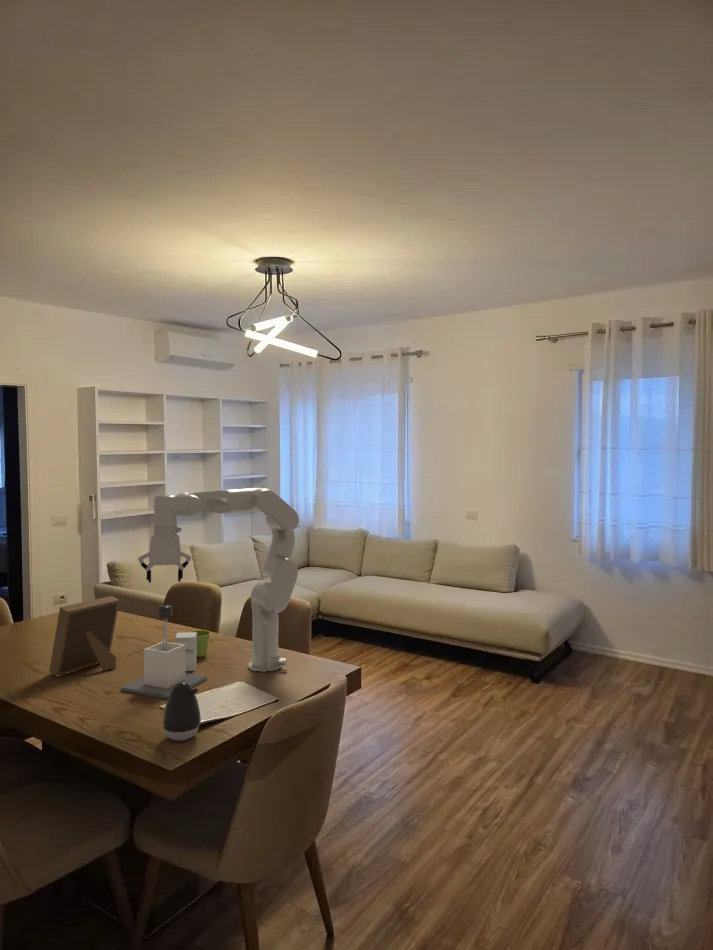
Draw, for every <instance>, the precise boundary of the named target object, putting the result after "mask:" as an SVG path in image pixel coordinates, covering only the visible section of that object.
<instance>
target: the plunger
mask: <svg viewBox="0 0 713 950" xmlns="http://www.w3.org/2000/svg"><path fill="white" fill-rule="evenodd" d="M171 616H173V606H172V605H170V604H163V605H162V604H161V605H159V606H158V617H159V618H160V617H161V618H163V629H162V631H163V635H162V636H163V639H162V642H163V651H167V642H168V617H171Z"/></svg>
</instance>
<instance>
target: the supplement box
mask: <svg viewBox="0 0 713 950" xmlns="http://www.w3.org/2000/svg"><path fill="white" fill-rule="evenodd" d="M174 643H178V644H185V645H186V658H185V672H194V671H196V665H197V657H196V653H197V632H191V631H188V632H176V635H175V637H174Z"/></svg>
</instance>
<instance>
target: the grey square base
mask: <svg viewBox="0 0 713 950" xmlns="http://www.w3.org/2000/svg"><path fill="white" fill-rule="evenodd" d="M143 650H144V651H143V656H144V658H143V660H144V661H143V663H144V664H143V676H142V677H139V678H138V679H135V680H133V681H131V682H129V683H127V684H125V685H122V686H121V687H120V692H124V691H125V693H130V694H136V693H137V694H136V695H141V694H142V695H141V696H147V697H152V696H153V698H159V699H163V698H164V699H165V700H168V697H169V695H170V692H171V691H172V689H173V687H174V686H175V685H176V684H178V683H181V682H184V683H188V684H189V685H190V686H191V687H192V689H194V687H196V686H198V685H200V684H201V683H203V681H204V682H205V681H207V679H208V675H200V674H196V673H187V672H186V671H185V658H186V645H185V644H178V643H175V642H169V641H167V651H163V641H160V642H158V643H156V644H154V645H153V644H152V645H151V646H147V647H146V648H144V649H143ZM164 699H163V700H164Z"/></svg>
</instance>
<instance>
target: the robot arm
mask: <svg viewBox="0 0 713 950" xmlns="http://www.w3.org/2000/svg"><path fill="white" fill-rule="evenodd" d="M247 512H248V513H250V512H262V514H264V515H265V521H266V524H267V525H268V526H269V528H270V531H271V534H272V536H271V537H272V538H271V539H272V540H271V543H270V546H269V550H268V553H267V555H266V558H265V561H264V564H263V568H262V570H263V574H264V576H265V577H267V578H268V579H269V580H270V582H269V581H261V582H258V583H256V584H255V585H254V586H253V587H252V589H251V593H250V604H251V611H252V651H251V652H252V653H251V654H252V656H251V657H252V658H251V661H249V662H248V664H247V668H248V669H249V670H250V671H253V672H257V671H259V673H268V672H267V671H270V672H274V670H275V671H278V670H280V669H281V668H282V667H283V666H284V667H286V666H287V665H288V660H287V658H283V657H281V653H279V613H281V612H283V611H284V610H285V609H286V608H287V607H288V605H289V603H290V600H291V598H292V595H293V592H294V589H295V585H296V583H297V579H298V575H299V568H298V565H297V562H296V561H295V560H293V559H292V554H293V552H294V551H293V550H294V547H295V541H296V536H295V531H294V530H295V529H297V527H298V526H299V522H300V517H299V513H297V511H296V510H295V509H294V508H293V507H292V506H291V505H290V504H288V503H287V502H286V501H285V500H284V499H283V498H282V497H281V496H279V495H278V494H277V493H275V491H273V490H272V489H269V488H264V487H263V488H262V487H251V488H250V487H248V488H240V489H239V488H235V489H221V490H211V491H197V492H196V491H195V492H182V493H179V494H176V495H173V494H158V495H156V496H155V497H154V499H153V534H151V537H150V541H149V551H148V552H146V553H145V554H143V555H141V556H138V557H137V560H138V562H139V564H140V566H141V567H142V568H143V569H144V570H145V571H146V581H148V584H149V583H152V568H153V566H174V565H176V566H177V567H178V570H177V581H178V582H179V583H180V582H181V581H182V580H181V579H183V577H184V573H183V571H184V569H185V568H186V567H187V566H188V565H189V564H190V562H191V560H192V556H191V555H189V554H187V553H185V552H183V551H181V539H180V534H178V533H181V532H182V527H178V526H177V525H178V516H180V517H181V516H183V517H195V516H197V515H198V514H199V513H213V514H225V515H228V514H237V513H247ZM181 557H182V558H185V561H184V562H183V563H181ZM147 558H148V561H149V563H148V564H146V562H145V561H144V560H145V559H147ZM279 668H280V669H279ZM277 669H278V670H277Z"/></svg>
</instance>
